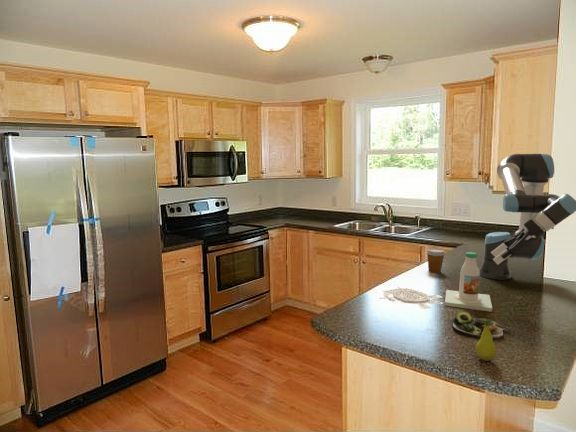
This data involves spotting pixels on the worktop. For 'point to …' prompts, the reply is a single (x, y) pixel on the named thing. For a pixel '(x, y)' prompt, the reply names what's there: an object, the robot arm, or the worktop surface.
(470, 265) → the milk bottle
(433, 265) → the disposable coffee cup
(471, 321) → the salad plate
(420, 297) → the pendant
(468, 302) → the locating board
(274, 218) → the worktop surface
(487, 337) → the fruit
